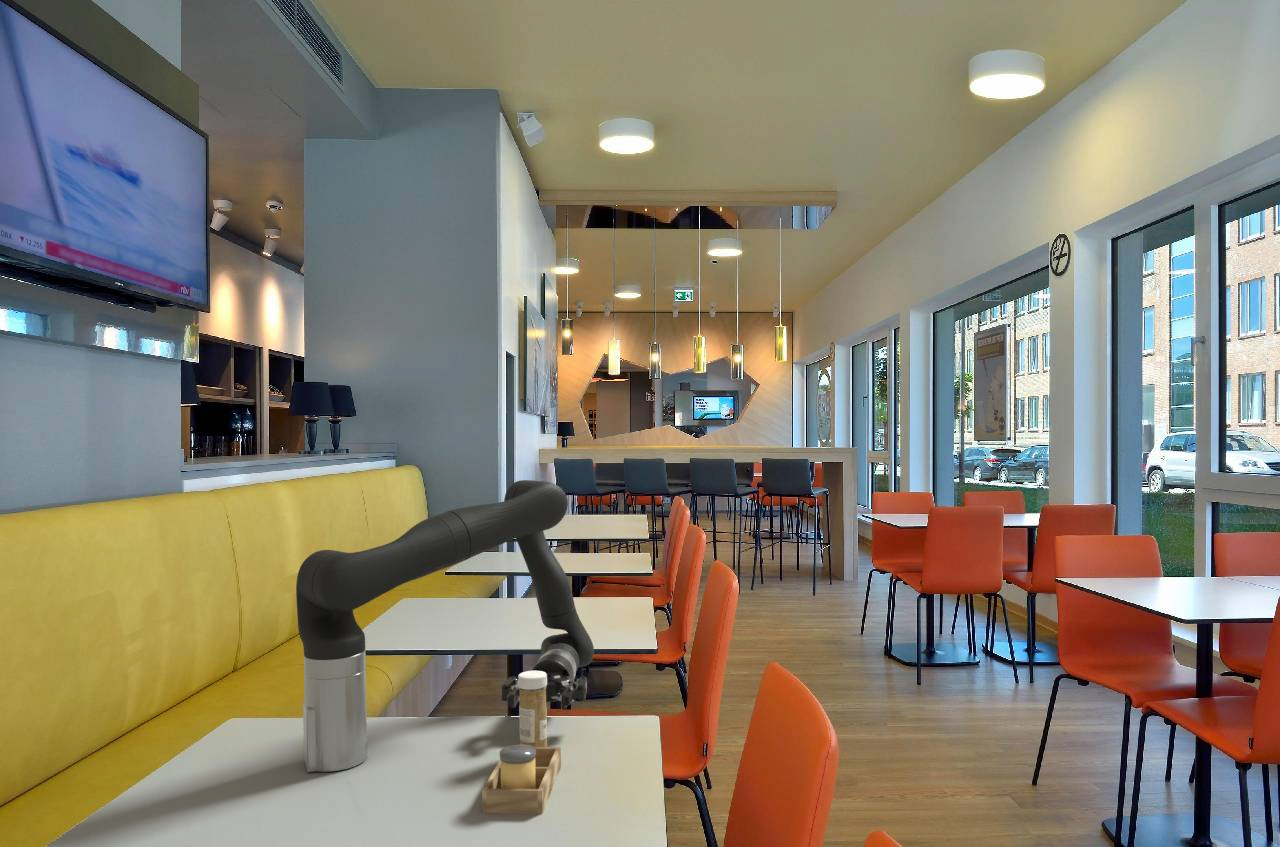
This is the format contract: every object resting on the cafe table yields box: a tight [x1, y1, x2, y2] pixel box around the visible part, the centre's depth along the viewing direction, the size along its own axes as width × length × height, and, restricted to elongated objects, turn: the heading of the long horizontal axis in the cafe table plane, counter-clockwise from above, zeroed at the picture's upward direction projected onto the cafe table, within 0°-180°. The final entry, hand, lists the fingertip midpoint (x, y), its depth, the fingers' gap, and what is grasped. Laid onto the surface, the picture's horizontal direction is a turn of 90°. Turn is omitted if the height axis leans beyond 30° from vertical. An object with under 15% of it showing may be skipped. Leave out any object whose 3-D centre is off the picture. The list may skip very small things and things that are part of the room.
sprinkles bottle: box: [517, 670, 548, 747], centre depth 137 cm, size 5×5×14 cm
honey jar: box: [499, 743, 536, 789], centre depth 120 cm, size 5×5×7 cm
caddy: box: [481, 746, 562, 815], centre depth 124 cm, size 16×8×4 cm, turn 176°
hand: (537, 702), depth 141 cm, fingers open, 8 cm apart
